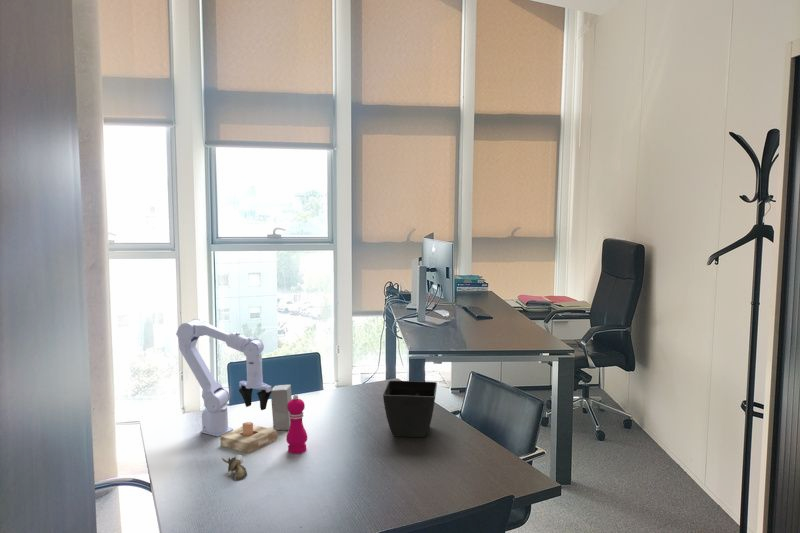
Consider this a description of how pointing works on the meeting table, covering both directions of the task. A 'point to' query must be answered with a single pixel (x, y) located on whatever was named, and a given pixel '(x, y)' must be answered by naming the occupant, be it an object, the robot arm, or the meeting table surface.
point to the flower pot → (409, 407)
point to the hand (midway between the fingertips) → (255, 407)
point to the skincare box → (281, 406)
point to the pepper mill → (296, 426)
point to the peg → (248, 429)
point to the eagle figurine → (236, 467)
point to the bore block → (248, 439)
